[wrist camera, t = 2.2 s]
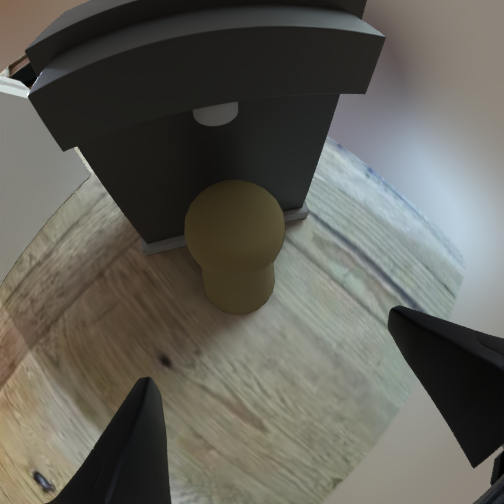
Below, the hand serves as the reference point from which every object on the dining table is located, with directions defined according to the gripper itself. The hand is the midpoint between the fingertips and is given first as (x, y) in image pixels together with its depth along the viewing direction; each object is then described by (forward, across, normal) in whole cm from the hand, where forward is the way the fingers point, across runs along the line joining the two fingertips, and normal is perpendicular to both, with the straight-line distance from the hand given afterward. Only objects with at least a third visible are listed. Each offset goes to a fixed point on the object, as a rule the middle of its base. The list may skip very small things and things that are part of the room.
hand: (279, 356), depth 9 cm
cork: (+14, 0, +4) cm, 14 cm away
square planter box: (+58, +40, -40) cm, 81 cm away
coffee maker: (+18, 0, 0) cm, 18 cm away
